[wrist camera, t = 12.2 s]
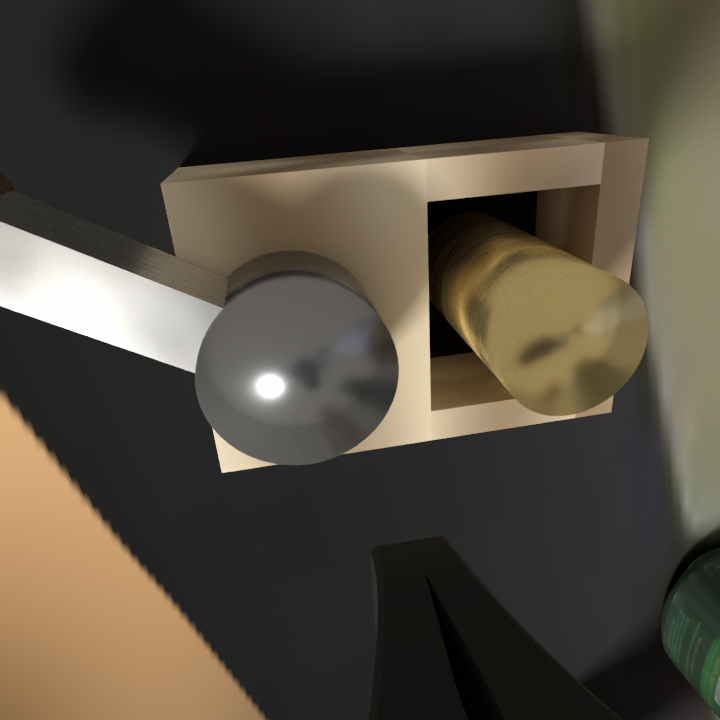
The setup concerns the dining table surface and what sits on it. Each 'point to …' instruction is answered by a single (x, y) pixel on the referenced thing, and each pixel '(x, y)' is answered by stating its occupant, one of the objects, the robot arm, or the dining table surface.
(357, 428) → the copper tipped joystick
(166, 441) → the dining table surface
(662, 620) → the coffee jar
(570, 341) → the brass pin
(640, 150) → the birch block
